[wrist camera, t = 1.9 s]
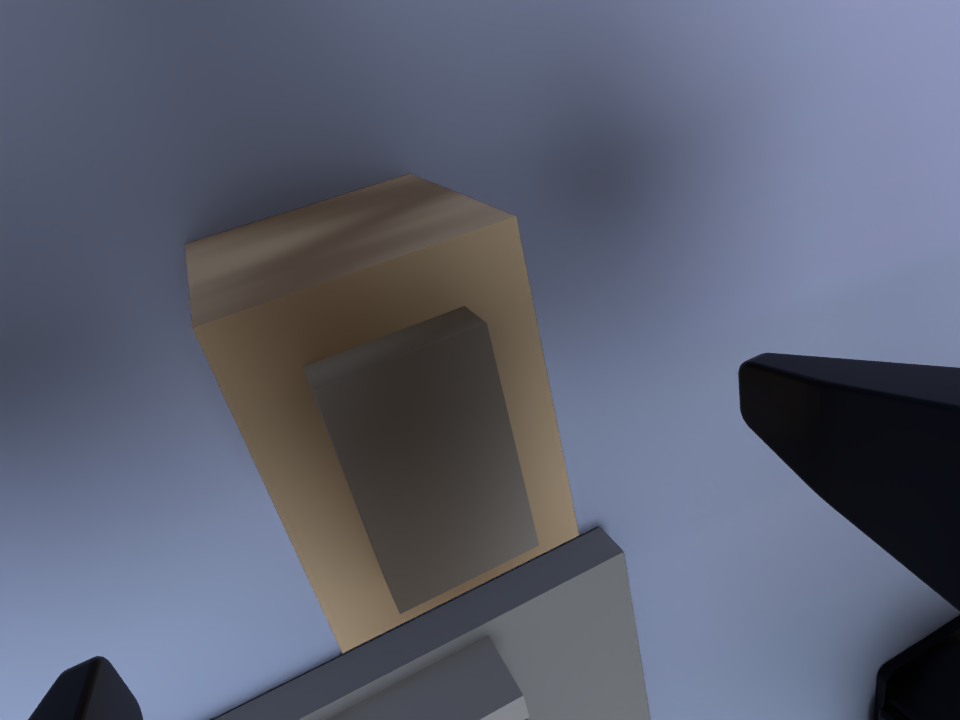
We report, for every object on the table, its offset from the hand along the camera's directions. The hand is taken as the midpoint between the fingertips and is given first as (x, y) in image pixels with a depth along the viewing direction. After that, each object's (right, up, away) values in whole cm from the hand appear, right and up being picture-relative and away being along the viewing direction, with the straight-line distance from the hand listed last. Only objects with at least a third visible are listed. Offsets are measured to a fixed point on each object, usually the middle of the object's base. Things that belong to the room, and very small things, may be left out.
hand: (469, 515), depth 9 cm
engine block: (-3, +2, +6) cm, 7 cm away
